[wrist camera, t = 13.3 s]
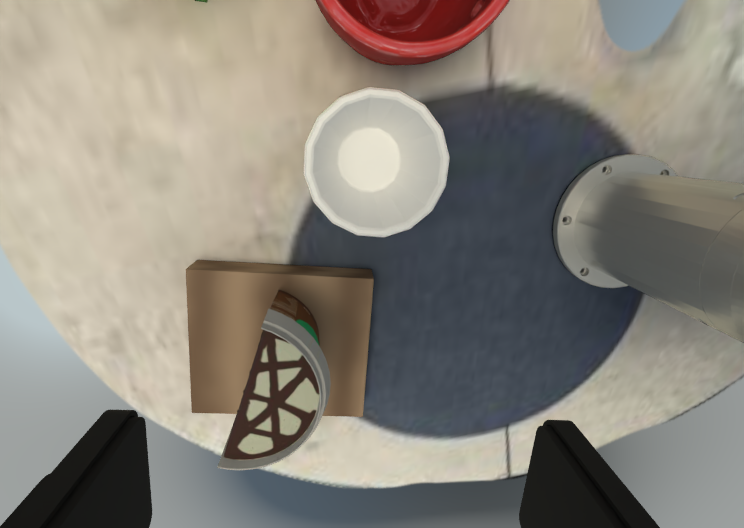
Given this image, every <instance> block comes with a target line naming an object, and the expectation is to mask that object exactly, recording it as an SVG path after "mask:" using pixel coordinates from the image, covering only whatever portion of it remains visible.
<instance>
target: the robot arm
mask: <svg viewBox="0 0 744 528" xmlns="http://www.w3.org/2000/svg"><path fill="white" fill-rule="evenodd" d="M602 169H603V171H602ZM563 218H565V219H564V221H562V220H563ZM553 238H554V245H555V248H556V251H557V254H558V257H559V258H560V260H561V262H562V263H563V265H564V266H565V267H566V268H567V269H568V270H569V271H570V272H571V273H572V274H573V275H574V276H576V277H578V278H579V279H581V280H583V281H585V282H587V283H589V284H591V285H594V286H598V287H602V288H619V287H626V286H631V287H633V288H635V289H637V290H639V291H641V292H643V293H645V294H647V295H649V296H651V297H653V298H655V299H657V300H659V301H661V302H663V303H665V304H667V305H669V306H671V307H673V308H675V309H677V310H679V311H681V312H683V313H685V314H687V315H689V316H690V317H692V318H694V319H696V320H698V321H700V322H702V323H704V324H706V325H708V326H710V327H713V328H715V329H717V330H719V331H721V332H723V333H725V334H727V335H729V336H731V337H733V338H735V339H737V340H739V341H741V342H743V343H744V184H742V183H733V182H723V181H714V180H704V179H695V178H685V177H679V176H678V175H677V174H676V173H675V172H674V170H673V169H672V168H671V167H669V166H668V165H667V164H665V163H664V162H662V161H660V160H658V159H656V158H653V157H650V156H645V155H639V154H624V155H616V156H612V157H609V158H606V159H603V160H601V161H599V162H597V163H595V164H593V165H591V166H589V167H588V168H587V169H586V170H584V171H583V172H582V173H580V174H579V175H578V176H577V177H576V178H575V180H574V181H573V182H572V183H571V184H570V185H569V186H568V188H567V190H566V191H565V193H564V194H563V196H562V198H561V200H560V202H559V205H558V207H557V209H556V213H555V218H554V223H553ZM581 269H582V270H581ZM151 518H152V503H151V490H150V477H149V464H148V451H147V438H146V425H145V419H144V418H143V417H138V414H137V412H136V411H134V410H107V411H105V412H104V413H103V414H102V415H101V416H100V418H99V419H98V420H97V421H96V422H95V423H94V425H93V426H92V427H91V428H90V429H89V431H87V433H86V434H85V435H84V436H83V437H82V438H81V439H80V441H79V442H78V443H77V444H76V445H75V446H74V448H73V449H72V450H71V451H70V452H69V453H68V454H67V455H66V457H65V458H64V459H63V460H62V461H61V462H60V463H59V465H58V466H57V467H56V468H55V469H54V470H53V472H52V473H51V474H48V475H47V476H45V477H44V478H43V479H42V480H41V481H40V482H39V483H38V484H37V485H36V487H35V488H34V489H33V490H32V491H31V492H30V493H29V495H28V496H27V497H26V498H25V499H24V500H23V501H22V502H21V504H20V505H19V506H18V507H17V508H16V509H15V510H14V512H13V513H12V514H11V515H10V516H9V517H8V518H7V519H6V521H5V522H4V523H3V524H2V525H1V526H0V528H149V526H150V522H151ZM519 520H520V525H521V528H660V527H659V526H658V525H657V524H656V522H655V521H654V520H653V519H652V518H651V516H650V515H649V514H648V513H647V512H646V510H645V509H644V508H643V507H642V506H641V504H640V503H639V502H638V501H637V499H636V498H635V497H634V496H633V495H632V493H631V492H630V491H629V490H628V489H627V487H626V486H625V485H624V484H623V482H622V481H621V480H620V479H619V478H618V476H617V475H616V474H615V473H614V471H613V470H612V469H611V468H610V467H609V466H608V464H607V463H606V462H605V461H604V459H603V458H602V457H601V456H600V455H599V453H598V452H597V451H596V450H595V448H594V447H593V446H592V445H591V444H590V442H589V441H588V440H587V439H586V438H585V436H584V435H583V434H582V433H581V431H580V430H579V429H578V428H577V427H576V425H575V424H574V423H573V422H572V421H568V420H547V421H545V422H544V424H543V426H539V427H538V428H537V431H536V436H535V441H534V446H533V450H532V455H531V460H530V465H529V469H528V474H527V479H526V484H525V488H524V493H523V498H522V503H521V507H520V513H519Z"/></svg>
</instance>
